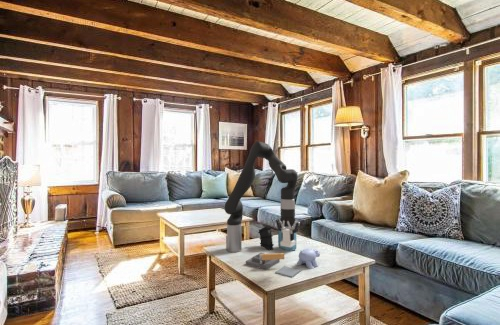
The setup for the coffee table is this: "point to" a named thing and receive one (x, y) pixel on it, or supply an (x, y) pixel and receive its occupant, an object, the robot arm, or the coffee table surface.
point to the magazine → (266, 238)
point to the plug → (287, 239)
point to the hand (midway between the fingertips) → (287, 239)
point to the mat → (288, 271)
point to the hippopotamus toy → (308, 258)
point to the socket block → (261, 262)
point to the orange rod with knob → (271, 256)
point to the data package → (282, 240)
